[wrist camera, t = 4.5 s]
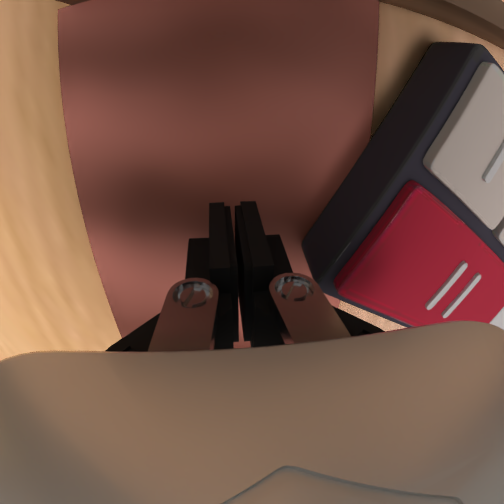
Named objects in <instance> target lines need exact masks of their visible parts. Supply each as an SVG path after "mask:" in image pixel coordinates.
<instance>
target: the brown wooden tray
mask: <svg viewBox="0 0 504 504" xmlns="http://www.w3.org/2000/svg"><path fill="white" fill-rule="evenodd" d="M56 1H60V2H63V3H67V4H70V5H71V6H68V7H65V8H61V9H58V50H59V69H60V82H61V93H62V102H63V111H64V119H65V126H66V133H67V140H68V146H69V152H70V158H71V163H72V168H73V174H74V178H75V183H76V188H77V193H78V197H79V202H80V206H81V210H82V214H83V218H84V222H85V226H86V230H87V234H88V237H89V241H90V244H91V248H92V252H93V255H94V258H95V262H96V265H97V268H98V271H99V275H100V278H101V281H102V284H103V287H104V290H105V293H106V296H107V299H108V302H109V304H110V307H111V310H112V313H113V316H114V318H115V321H116V324H117V326H118V329H119V331H120V334H121V337H122V338H124V337H125V336H126V335H128V334H129V333H131V332H132V331H134V330H135V329H137V328H138V327H140V326H141V325H143V324H144V323H146V322H147V321H148V320H150V319H151V318H153V317H154V316H156V315H157V314H159V313H160V312H161V310H162V307H163V304H164V301H165V298H166V296H167V293H168V291H169V289H170V288H171V287H172V286H173V285H174V284H175V283H177V282H179V281H181V280H184V279H185V273H186V262H187V251H188V241H189V238H208V237H209V203H215V202H224V206H230V209H231V217H232V225H233V233H234V241H235V206H238V205H240V202H241V201H256V204H257V208H258V211H259V214H260V218H261V221H262V225H263V228H264V232H265V235H275V234H279V235H280V237H281V240H282V242H283V245H284V248H285V251H286V254H287V256H288V259H289V262H290V265H291V268H292V271H293V273H301V274H304V275H307V276H309V277H310V278H312V275H311V272H310V269H309V267H308V264H307V261H306V258H305V256H304V253H303V250H302V246H301V244H302V241H303V239H304V237H305V236H306V234H307V233H308V232H309V230H310V229H311V227H312V226H313V224H314V223H315V222H316V220H317V219H318V217H319V216H320V214H321V213H322V211H323V210H324V209H325V207H326V206H327V204H328V203H329V201H330V200H331V198H332V197H333V195H334V194H335V193H336V191H337V190H338V188H339V187H340V185H341V184H342V182H343V181H344V179H345V178H346V176H347V175H348V173H349V172H350V170H351V169H352V167H353V166H354V164H355V163H356V161H357V160H358V158H359V157H360V155H361V154H362V152H363V151H364V149H365V148H366V146H367V145H368V143H369V141H370V133H371V124H372V115H373V105H374V95H375V83H376V69H377V53H378V30H379V1H380V2H384V3H388V4H391V5H395V6H398V7H402V8H405V9H408V10H412V11H415V12H418V13H421V14H424V15H426V16H429V17H432V18H435V19H438V20H440V21H443V22H445V23H448V24H450V25H453V26H455V27H458V28H460V29H463V30H465V31H467V32H469V33H472V34H474V35H476V36H478V37H480V38H482V39H484V40H486V41H489V42H491V43H493V44H495V45H496V46H498V47H500V48H502V49H504V2H502V1H501V0H56ZM312 279H313V278H312ZM324 294H325V293H324ZM325 296H326V297H327V299H328V301H329V302H330V304H331V305H332V306H334V307H336V308H338V307H339V303H340V300H339V299H337V298H334V297H332V296H329V295H327V294H325ZM238 307H239V342H233V345H234V348H248V347H251V344H250V341H244V338H243V330H242V322H241V314H240V306H239V298H238Z"/></svg>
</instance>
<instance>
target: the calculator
mask: <svg viewBox="0 0 504 504" xmlns="http://www.w3.org/2000/svg"><path fill="white" fill-rule="evenodd" d="M301 246H302V250H303V253H304V256H305V258H306V261H307V264H308V267H309V269H310V272H311V275H312V278H313V279H314V281H315V282H316V283H317V284H318V285H319V287H320V288H321V290H322V291H323V293H325V294H327V295H329V296H332V297H334V298H337V299H339V300H341V301H344V302H346V303H349V304H351V305H354V306H356V307H358V308H361V309H363V310H366V311H368V312H371V313H373V314H376V315H378V316H380V317H383V318H385V319H388V320H390V321H393V322H395V323H398V324H400V325H402V326H405V327H407V328H410V327H415V326H422V325H428V324H434V323H441V322H447V321H478V322H484V323H489V324H492V325H495V326H497V327H500V328H501V329H503V330H504V71H503V70H502V68H501V67H500V66H499V64H498V63H497V62H496V60H495V59H494V58H493V56H492V55H491V54H490V53H489V51H488V50H487V49H486V48H485V47H484V46H483V45H481V44H474V43H457V42H435V43H433V44H432V45H431V46H430V47H429V49H428V50H427V52H426V54H425V55H424V57H423V59H422V60H421V62H420V64H419V65H418V67H417V68H416V70H415V72H414V73H413V75H412V76H411V78H410V80H409V81H408V83H407V84H406V86H405V88H404V89H403V91H402V92H401V94H400V95H399V97H398V99H397V100H396V102H395V103H394V105H393V106H392V108H391V110H390V111H389V113H388V114H387V116H386V117H385V119H384V120H383V122H382V123H381V125H380V127H379V128H378V130H377V131H376V133H375V134H374V136H373V137H372V139H371V140H370V142H369V143H368V145H367V146H366V148H365V149H364V151H363V152H362V154H361V155H360V157H359V158H358V160H357V161H356V163H355V164H354V166H353V167H352V169H351V170H350V172H349V173H348V175H347V176H346V178H345V179H344V181H343V182H342V184H341V185H340V187H339V188H338V190H337V191H336V193H335V194H334V195H333V197H332V198H331V200H330V201H329V203H328V204H327V206H326V207H325V209H324V210H323V211H322V213H321V214H320V216H319V217H318V219H317V220H316V222H315V223H314V224H313V226H312V227H311V229H310V230H309V232H308V233H307V234H306V236H305V237H304V239H303V241H302V244H301Z"/></svg>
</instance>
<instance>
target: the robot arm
mask: <svg viewBox="0 0 504 504" xmlns="http://www.w3.org/2000/svg"><path fill="white" fill-rule="evenodd" d="M238 298H239V306H240V314H241V322H242V330H243V338H244V341H250V344H251V347H248V348H234V345H233V342H239V307H238ZM0 504H504V330H503V329H501V328H500V327H497V326H495V325H492V324H489V323H484V322H478V321H447V322H441V323H434V324H428V325H422V326H415V327H410V328H404V329H398V330H392V331H386V332H385V331H383V330H382V329H380V328H378V327H376V326H374V325H372V324H370V323H368V322H366V321H363V320H361V319H359V318H357V317H355V316H353V315H351V314H349V313H347V312H344V311H342V310H340V309H338V308H336V307H334V306H332V305H331V304H330V302H329V301H328V299H327V297H326V296H325V294H324V293H323V291H322V290H321V288H320V287H319V285H318V284H317V283H316V282H315V281H314V279H312V278H310V277H309V276H307V275H304V274H301V273H293V271H292V268H291V265H290V262H289V259H288V256H287V254H286V251H285V248H284V245H283V242H282V240H281V237H280V235H279V234H275V235H265V232H264V228H263V225H262V221H261V218H260V214H259V211H258V208H257V204H256V201H241V202H240V205H238V206H235V241H234V233H233V225H232V217H231V209H230V206H224V202H215V203H209V237H208V238H189V241H188V251H187V262H186V273H185V279H184V280H181V281H179V282H177V283H175V284H174V285H173V286H172V287H171V288H170V289H169V291H168V293H167V296H166V298H165V301H164V304H163V307H162V310H161V312H160V313H159V314H157V315H156V316H154V317H153V318H151V319H150V320H148V321H147V322H146V323H144V324H143V325H141V326H140V327H138V328H137V329H135V330H134V331H132V332H131V333H129V334H128V335H126V336H125V337H124V338H122V339H121V340H119V341H118V342H116V343H115V344H113V345H112V346H110V347H109V348H108V349H107V350H106V351H36V352H30V353H24V354H19V355H16V356H12V357H9V358H6V359H3V360H1V361H0Z"/></svg>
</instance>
